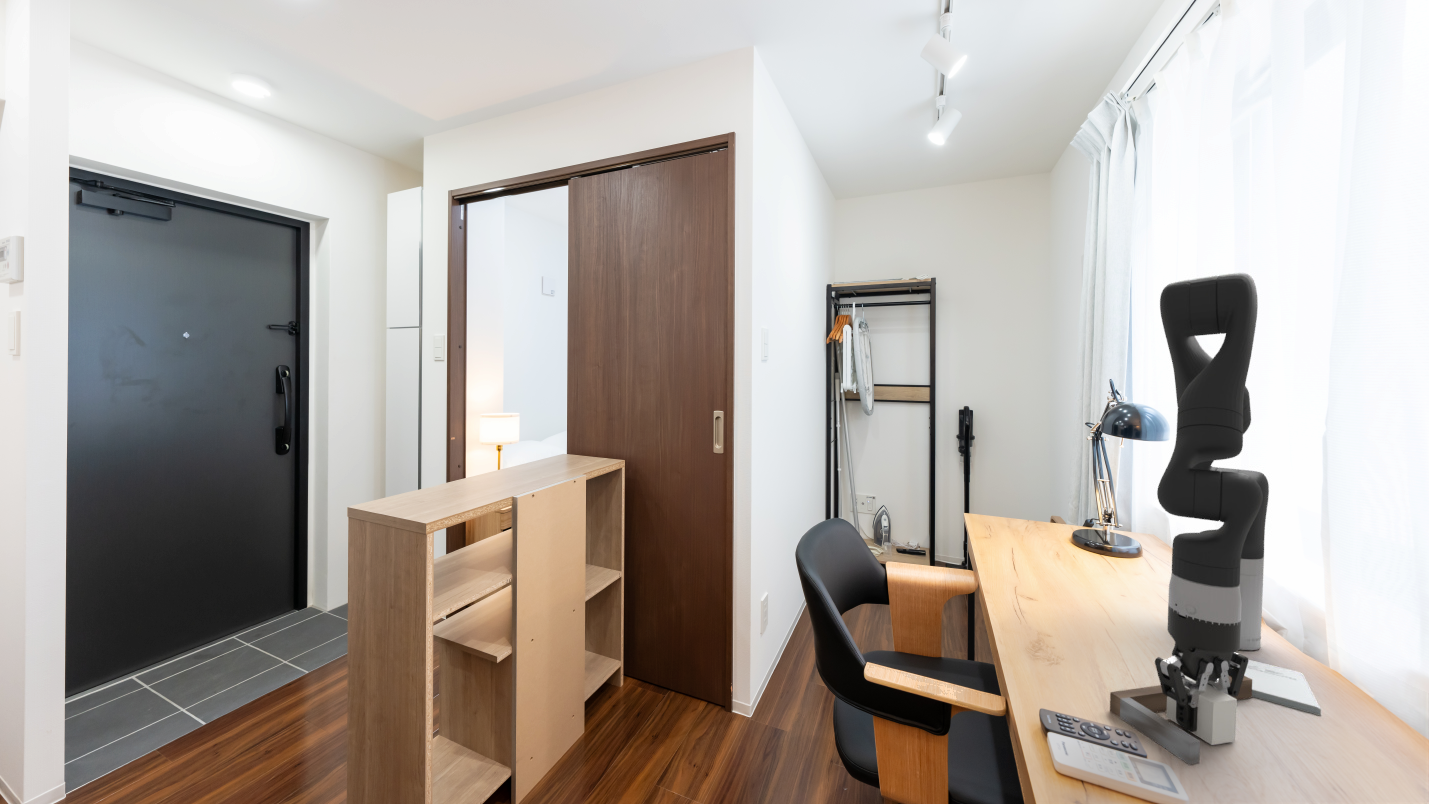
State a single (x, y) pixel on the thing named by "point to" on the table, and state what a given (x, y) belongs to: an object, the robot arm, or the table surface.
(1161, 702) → the guide fence
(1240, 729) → the table surface
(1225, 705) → the block
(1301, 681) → the external hard drive
